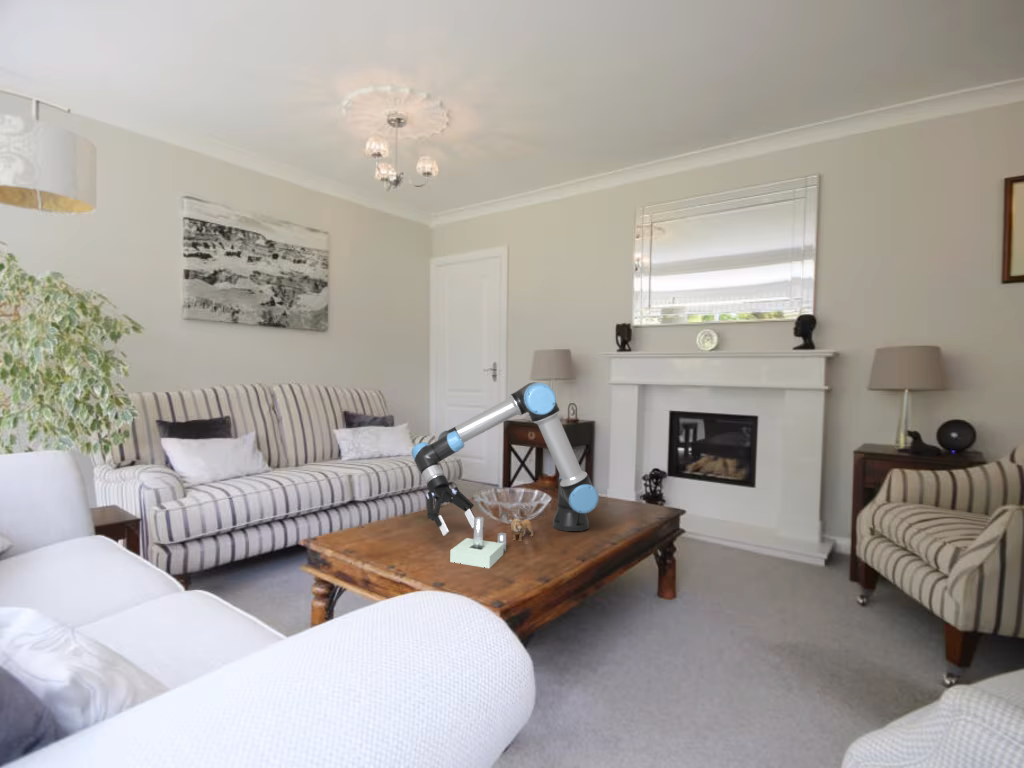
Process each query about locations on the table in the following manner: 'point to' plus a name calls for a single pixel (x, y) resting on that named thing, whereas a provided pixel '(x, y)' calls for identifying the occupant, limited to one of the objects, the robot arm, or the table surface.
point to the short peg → (502, 539)
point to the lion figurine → (520, 528)
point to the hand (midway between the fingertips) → (461, 530)
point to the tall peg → (478, 532)
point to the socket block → (476, 553)
